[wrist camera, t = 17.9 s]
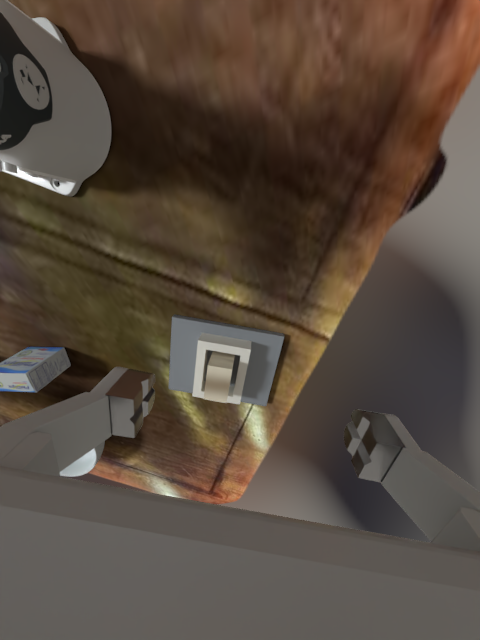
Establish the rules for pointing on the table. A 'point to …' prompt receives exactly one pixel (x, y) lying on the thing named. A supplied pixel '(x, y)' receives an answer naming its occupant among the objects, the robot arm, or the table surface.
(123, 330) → the table surface
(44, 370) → the medicine box
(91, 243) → the table surface
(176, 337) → the cradle
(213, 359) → the key block
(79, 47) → the table surface
